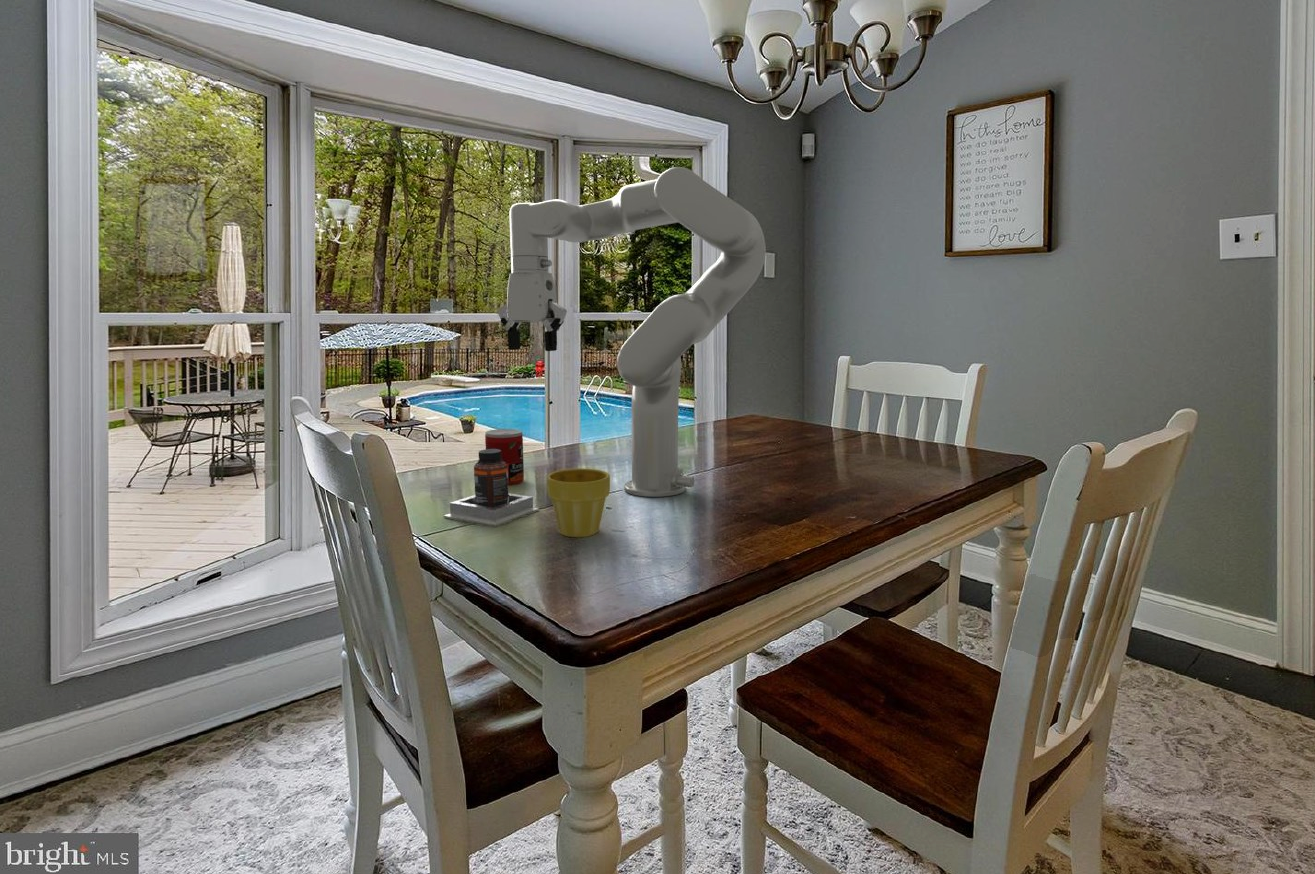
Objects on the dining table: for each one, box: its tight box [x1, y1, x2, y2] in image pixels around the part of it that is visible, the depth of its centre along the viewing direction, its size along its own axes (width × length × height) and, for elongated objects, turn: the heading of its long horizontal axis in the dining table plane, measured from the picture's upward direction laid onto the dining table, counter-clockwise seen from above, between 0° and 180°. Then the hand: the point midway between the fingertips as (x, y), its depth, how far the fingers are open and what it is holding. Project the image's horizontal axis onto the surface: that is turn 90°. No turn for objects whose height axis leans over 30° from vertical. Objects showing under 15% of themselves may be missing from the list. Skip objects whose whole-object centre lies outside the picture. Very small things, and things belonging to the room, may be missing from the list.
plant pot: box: [546, 467, 611, 538], centre depth 122 cm, size 10×10×10 cm
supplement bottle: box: [473, 448, 510, 508], centre depth 133 cm, size 6×6×11 cm
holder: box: [443, 492, 540, 528], centre depth 133 cm, size 12×12×3 cm
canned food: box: [484, 428, 525, 486], centre depth 158 cm, size 8×8×11 cm
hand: (532, 350), depth 154 cm, fingers open, 9 cm apart
